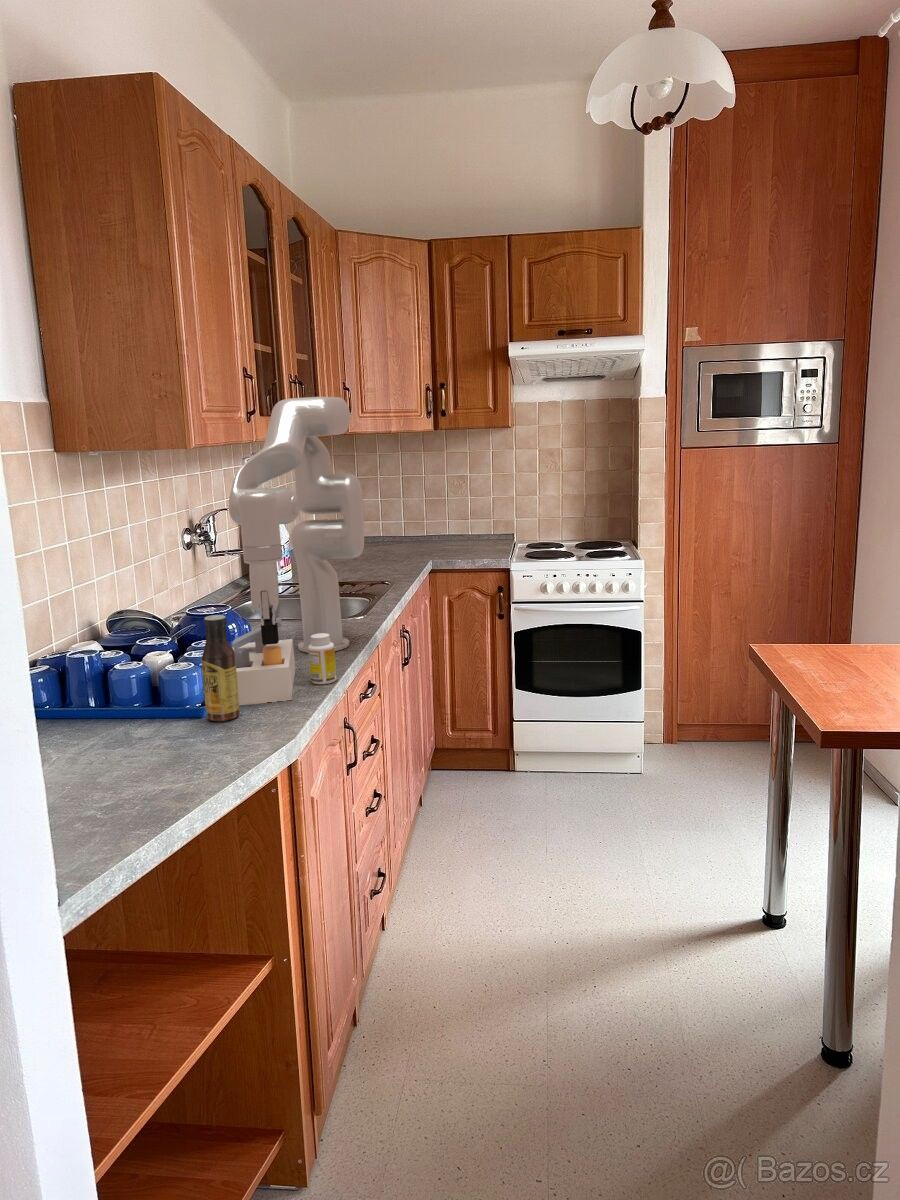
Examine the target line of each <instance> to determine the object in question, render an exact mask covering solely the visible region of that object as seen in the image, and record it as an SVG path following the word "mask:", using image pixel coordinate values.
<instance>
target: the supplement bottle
mask: <svg viewBox="0 0 900 1200" xmlns="http://www.w3.org/2000/svg"><path fill="white" fill-rule="evenodd" d="M311 643H312V644H310V645H309V646H308V653H307V654H308V661H309V662H308V663H309V664H308V665H309V673H310V675H309V676H310V681H311V683H312V684H315V685H328V684H332V683H335V682H336V681H337V678H338V676H337V675H338V674H337V663H336V653H335V652H336V651H335V650H334V644H333V643H332V642H330V636H329V634H327V633H319V634H314V635H312V636H311Z"/></svg>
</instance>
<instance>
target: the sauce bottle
mask: <svg viewBox="0 0 900 1200" xmlns="http://www.w3.org/2000/svg"><path fill="white" fill-rule="evenodd" d="M227 623H228V621H227V617H226V615H223V614H214V615H207V616H205V617H204V618H203V625H204V628H205V644H204V648H203V652H202V657H201V659H200V660H201V670H202V673H201V674H202V682H203V683H202V684H203V693H204V705H205V711H206V714H207V718H208V720H209V721H213V722H217V723H221V722H226V721H230V720H234V719H236V718H237V717H239V715H240V711H239V709H240V705H239V698H238V685H237V673H236V664H235V656H234V650H233V648H232V647H233V646H232V644H230V643H229V641H228V635H227V626H226V625H227Z"/></svg>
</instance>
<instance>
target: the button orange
mask: <svg viewBox="0 0 900 1200" xmlns="http://www.w3.org/2000/svg"><path fill="white" fill-rule="evenodd" d="M263 657H264V666H267V665H279V664H282V656H281V647H280V646H267V647H264V648H263Z"/></svg>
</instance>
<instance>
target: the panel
mask: <svg viewBox="0 0 900 1200" xmlns="http://www.w3.org/2000/svg"><path fill="white" fill-rule="evenodd" d="M267 646H280V647H281V656H282V664H279V665H267V666H264V657H263V648H264V647H267ZM232 648H233V646H232ZM240 648H247V649H249V657H250V667H244V668H236V673H237V685H238V698H239V706H248V705H249V706H250V705H259V704H260V705H261V704H268V703H267V702H272V703H278V702H277V701H283V702H288V701H287V700H293V690H294V684H293V683H294V682H295V673H296V662H295V653H294V639H293V638H289V639H279V642H278V644H268V645H263V643H262V636H259V637H255V640H254V641H251V642H249V643H247V644H245V645H243V646H241V647H239V648H237V649H240ZM233 650H234V648H233Z"/></svg>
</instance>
